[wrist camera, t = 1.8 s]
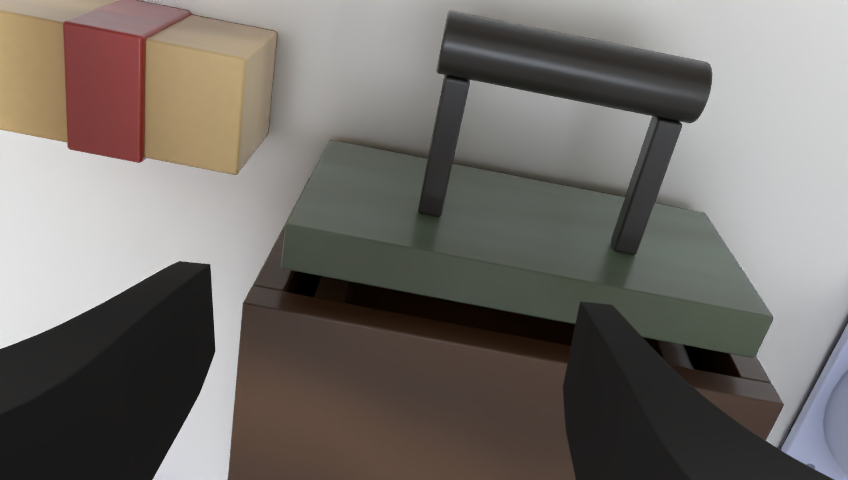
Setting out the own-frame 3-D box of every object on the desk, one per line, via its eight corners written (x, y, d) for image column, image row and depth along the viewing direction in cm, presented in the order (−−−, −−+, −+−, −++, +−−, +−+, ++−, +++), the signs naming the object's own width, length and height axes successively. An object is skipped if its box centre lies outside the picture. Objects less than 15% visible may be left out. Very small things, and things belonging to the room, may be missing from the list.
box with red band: (278, 28, 22) (244, 56, 18) (268, 138, 23) (234, 182, 20) (36, -21, 21) (-41, 0, 18) (42, 94, 23) (-29, 131, 20)
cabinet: (309, 176, 24) (242, 302, 17) (697, 251, 24) (785, 405, 17) (271, 488, 30) (211, 672, 23) (580, 544, 30) (611, 742, 23)
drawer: (352, -34, 20) (309, 2, 15) (769, 50, 20) (871, 114, 15) (287, 454, 28) (244, 590, 23) (588, 509, 28) (614, 655, 23)
